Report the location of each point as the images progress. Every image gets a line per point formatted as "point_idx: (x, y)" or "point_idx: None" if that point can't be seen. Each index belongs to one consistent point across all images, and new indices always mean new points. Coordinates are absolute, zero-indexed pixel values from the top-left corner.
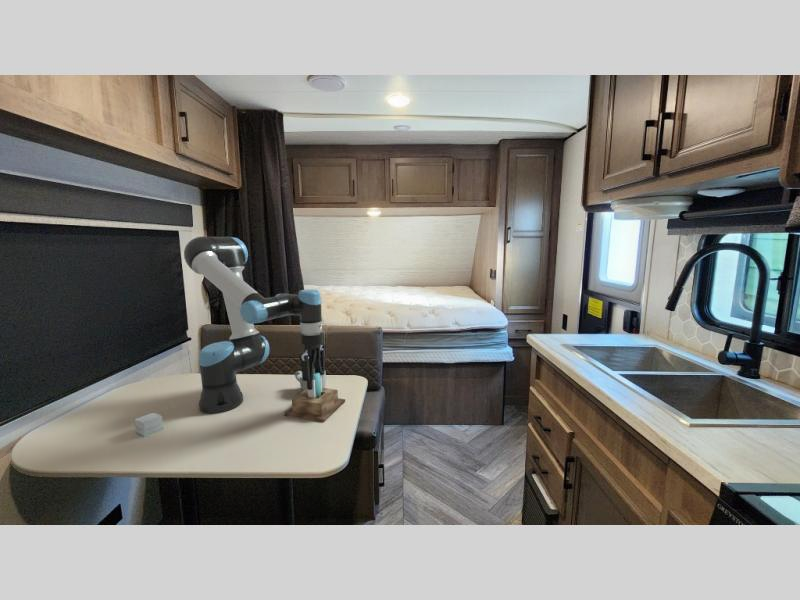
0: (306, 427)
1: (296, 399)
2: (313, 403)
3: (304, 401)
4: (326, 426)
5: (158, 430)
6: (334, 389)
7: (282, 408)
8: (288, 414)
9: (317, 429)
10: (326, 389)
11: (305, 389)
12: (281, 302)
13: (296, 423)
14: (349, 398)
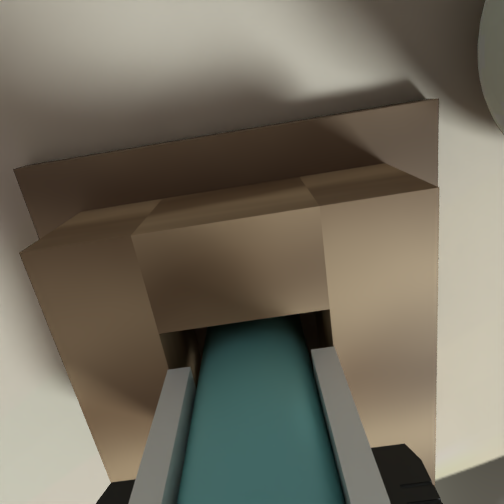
0: (23, 410)
1: (55, 301)
2: (109, 468)
3: (78, 395)
4: (103, 488)
5: None
6: (431, 471)
7: (107, 28)
8: (33, 211)
9: (50, 469)
10: (408, 412)
11: (485, 27)
12: None
13: (14, 329)
14: (483, 415)
